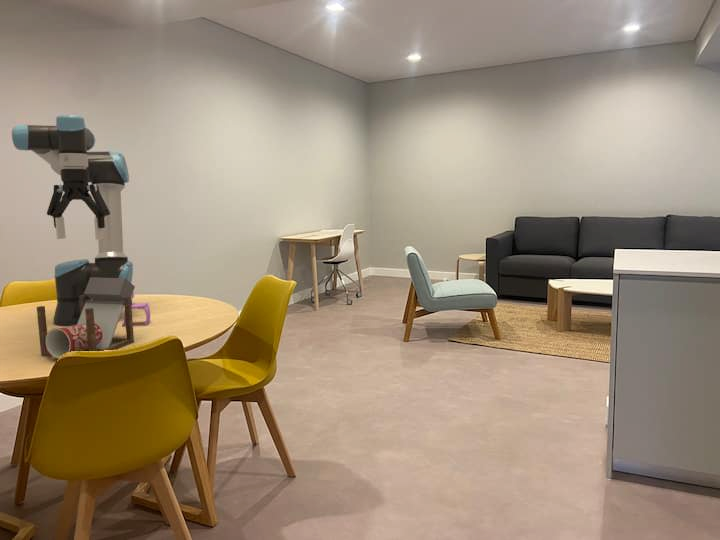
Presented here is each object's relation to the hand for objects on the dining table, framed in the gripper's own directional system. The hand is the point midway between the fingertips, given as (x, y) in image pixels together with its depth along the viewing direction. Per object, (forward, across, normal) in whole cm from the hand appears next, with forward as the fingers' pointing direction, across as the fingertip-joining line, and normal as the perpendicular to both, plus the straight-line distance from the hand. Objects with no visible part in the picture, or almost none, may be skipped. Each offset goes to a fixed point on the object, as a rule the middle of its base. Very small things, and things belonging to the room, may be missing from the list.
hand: (80, 239), depth 166 cm
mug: (+30, +1, -1) cm, 30 cm away
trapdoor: (+27, +1, +8) cm, 28 cm away
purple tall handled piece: (+35, -4, +31) cm, 47 cm away
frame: (+34, +1, 0) cm, 34 cm away
